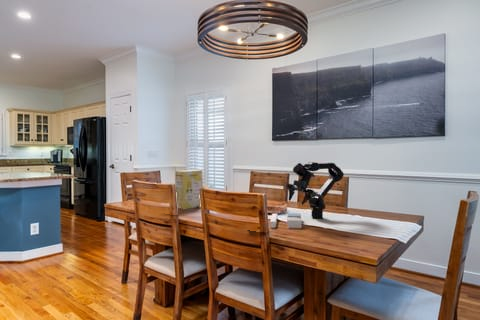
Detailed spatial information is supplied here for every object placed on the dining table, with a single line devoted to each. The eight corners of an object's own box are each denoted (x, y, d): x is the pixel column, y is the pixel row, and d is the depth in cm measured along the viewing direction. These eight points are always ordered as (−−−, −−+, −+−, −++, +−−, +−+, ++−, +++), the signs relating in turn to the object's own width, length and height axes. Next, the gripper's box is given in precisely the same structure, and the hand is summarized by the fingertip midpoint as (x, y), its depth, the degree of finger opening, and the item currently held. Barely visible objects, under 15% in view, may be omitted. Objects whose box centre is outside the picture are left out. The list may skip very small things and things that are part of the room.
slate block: (300, 220, 197) (300, 213, 197) (300, 223, 189) (300, 216, 189) (287, 220, 199) (287, 213, 198) (287, 223, 191) (287, 215, 191)
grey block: (300, 225, 185) (300, 217, 185) (301, 228, 178) (301, 220, 177) (287, 224, 187) (287, 217, 186) (287, 228, 179) (287, 220, 179)
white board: (277, 219, 200) (277, 213, 200) (275, 227, 178) (275, 221, 178) (272, 218, 201) (272, 213, 200) (270, 227, 179) (270, 221, 179)
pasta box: (194, 204, 254) (193, 169, 253) (202, 206, 247) (202, 170, 246) (175, 207, 240) (175, 171, 239) (184, 209, 233) (183, 171, 232)
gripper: (287, 171, 197) (277, 193, 193) (313, 177, 185) (303, 201, 181) (294, 178, 205) (285, 200, 201) (320, 185, 193) (310, 208, 189)
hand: (295, 202), depth 193 cm, fingers open, 9 cm apart
